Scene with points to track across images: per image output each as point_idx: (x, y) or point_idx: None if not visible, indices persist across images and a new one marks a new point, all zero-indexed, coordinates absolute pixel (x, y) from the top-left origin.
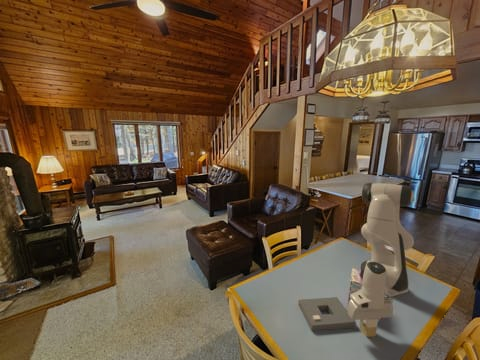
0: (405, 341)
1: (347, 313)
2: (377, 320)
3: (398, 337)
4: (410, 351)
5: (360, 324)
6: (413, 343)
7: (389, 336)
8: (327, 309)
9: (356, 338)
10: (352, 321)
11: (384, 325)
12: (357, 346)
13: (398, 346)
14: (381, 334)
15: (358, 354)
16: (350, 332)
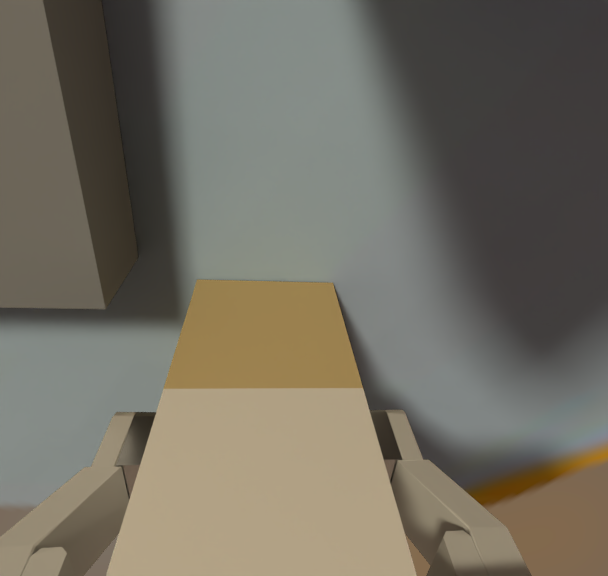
0: (557, 439)
1: (6, 84)
2: None
3: (544, 407)
4: (491, 496)
5: (186, 324)
6: (599, 454)
7: (468, 394)
8: None
9: (68, 386)
10: (39, 296)
11: (573, 279)
12: (34, 450)
13: (442, 466)
14: (408, 371)
15: (8, 500)
16: (22, 318)
